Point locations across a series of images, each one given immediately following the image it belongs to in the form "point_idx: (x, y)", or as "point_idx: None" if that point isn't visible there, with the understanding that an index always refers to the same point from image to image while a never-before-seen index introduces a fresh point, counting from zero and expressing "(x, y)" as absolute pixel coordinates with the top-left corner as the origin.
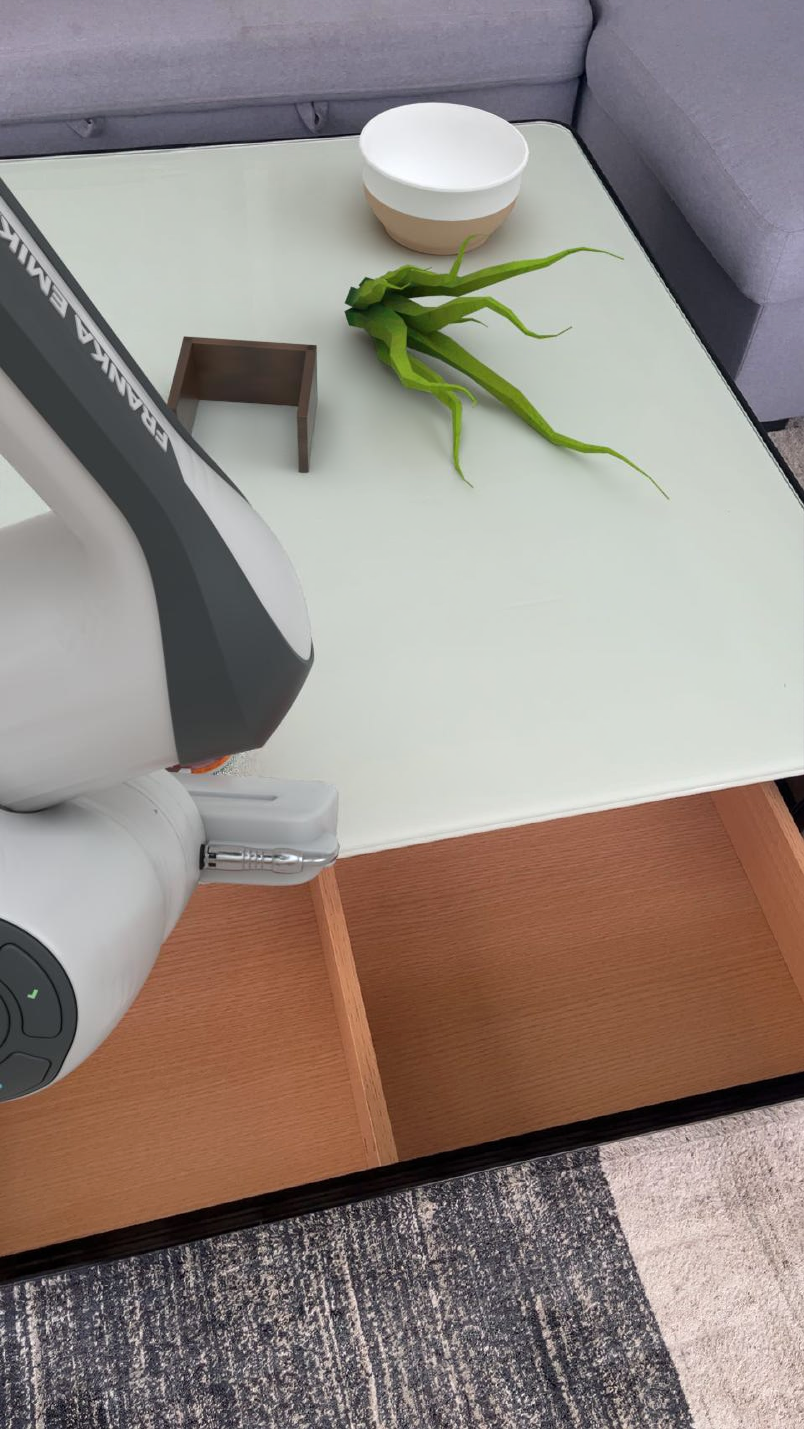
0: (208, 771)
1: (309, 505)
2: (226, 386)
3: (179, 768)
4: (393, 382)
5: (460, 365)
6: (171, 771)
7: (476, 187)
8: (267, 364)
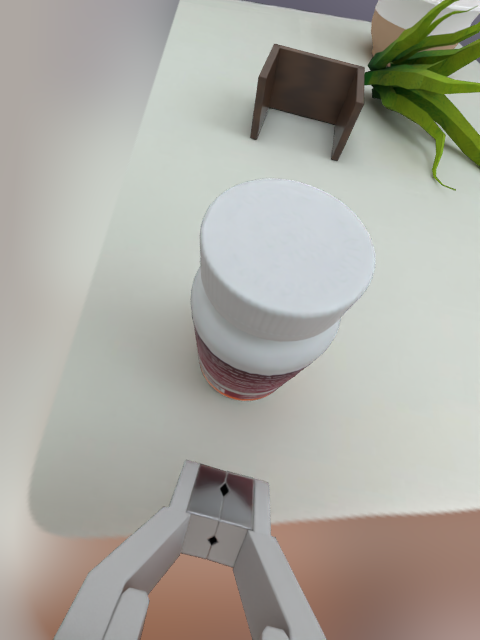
0: (257, 399)
1: (338, 181)
2: (290, 97)
3: (252, 484)
4: (386, 123)
5: (443, 111)
6: (241, 507)
7: (461, 7)
8: (324, 79)
